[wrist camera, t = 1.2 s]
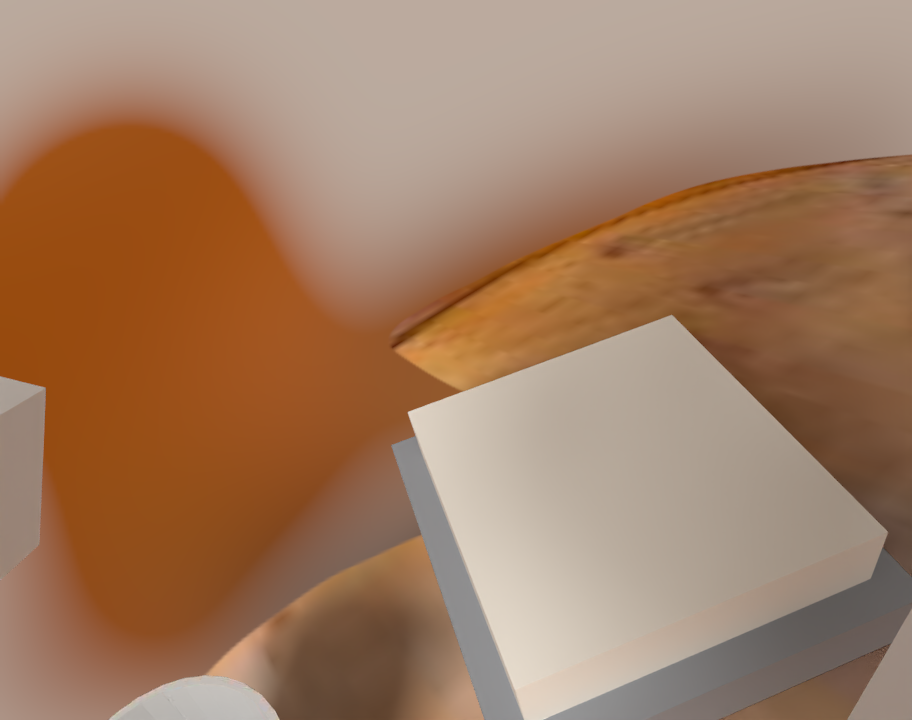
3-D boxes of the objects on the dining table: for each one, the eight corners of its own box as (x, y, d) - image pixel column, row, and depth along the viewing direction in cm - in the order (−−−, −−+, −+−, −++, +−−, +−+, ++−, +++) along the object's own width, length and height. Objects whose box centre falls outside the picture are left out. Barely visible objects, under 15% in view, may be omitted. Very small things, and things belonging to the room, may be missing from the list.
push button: (678, 378, 45) (681, 292, 41) (909, 635, 31) (952, 548, 26) (405, 481, 43) (375, 404, 39) (517, 808, 29) (491, 747, 24)
